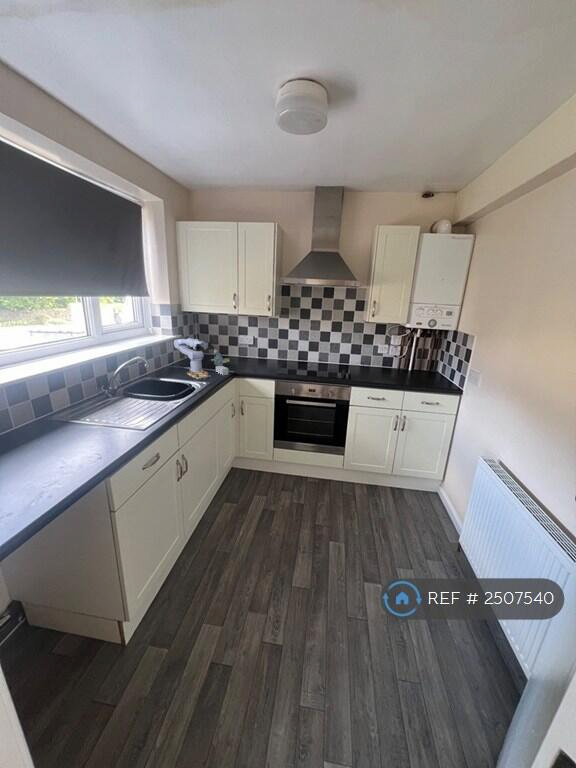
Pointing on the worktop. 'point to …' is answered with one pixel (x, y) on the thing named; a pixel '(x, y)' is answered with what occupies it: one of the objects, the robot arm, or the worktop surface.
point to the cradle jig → (199, 374)
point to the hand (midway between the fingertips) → (208, 348)
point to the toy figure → (219, 359)
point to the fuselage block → (222, 370)
